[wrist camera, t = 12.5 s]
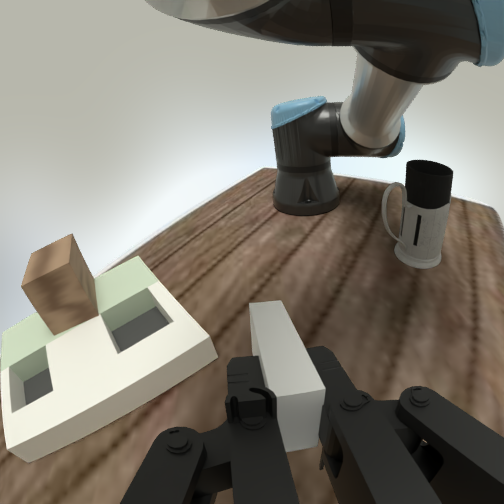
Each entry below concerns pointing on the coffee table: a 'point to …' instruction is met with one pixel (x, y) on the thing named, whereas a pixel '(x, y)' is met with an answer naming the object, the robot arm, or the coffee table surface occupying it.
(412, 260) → the glass holder
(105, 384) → the box
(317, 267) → the coffee table surface
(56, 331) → the walnut block
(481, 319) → the coffee table surface
